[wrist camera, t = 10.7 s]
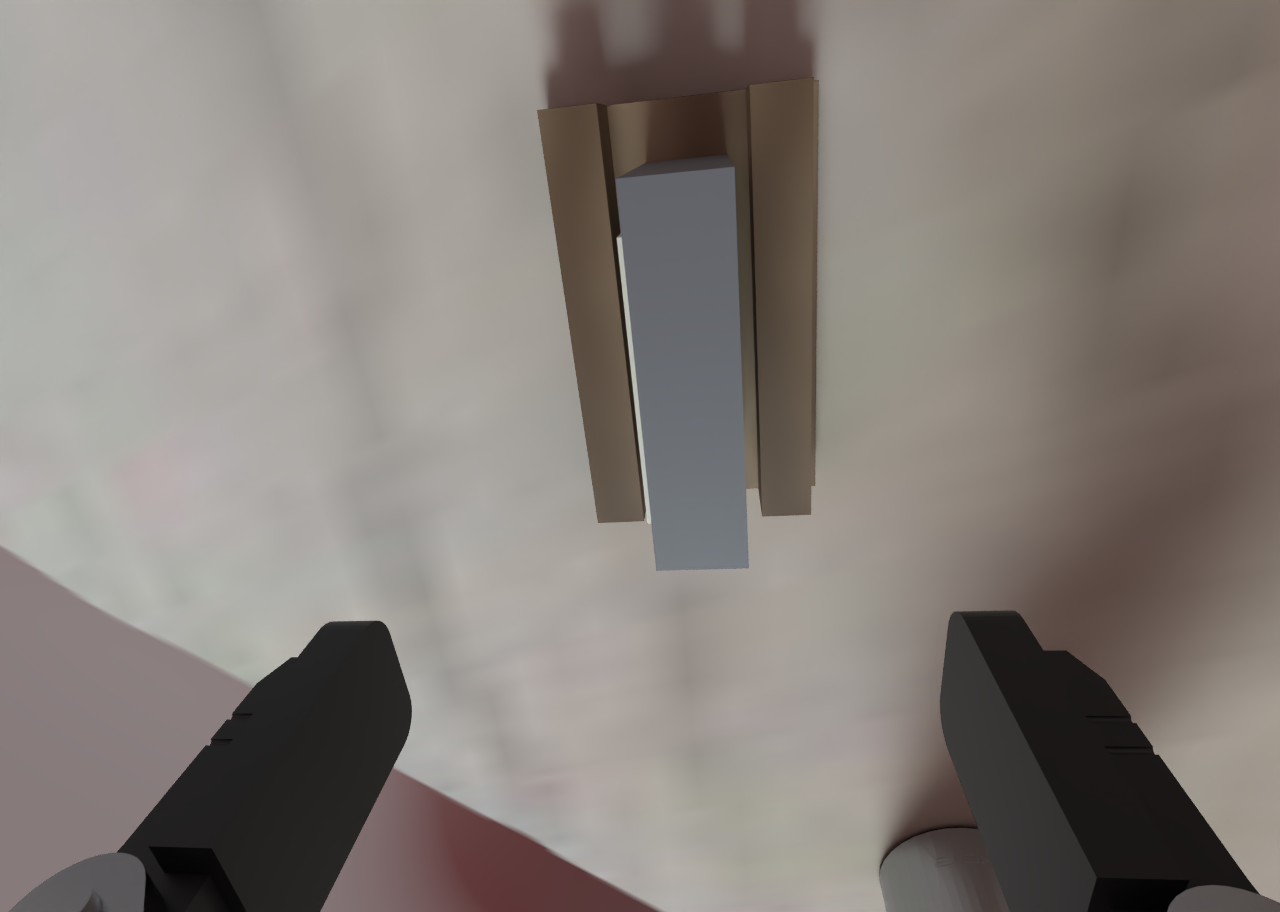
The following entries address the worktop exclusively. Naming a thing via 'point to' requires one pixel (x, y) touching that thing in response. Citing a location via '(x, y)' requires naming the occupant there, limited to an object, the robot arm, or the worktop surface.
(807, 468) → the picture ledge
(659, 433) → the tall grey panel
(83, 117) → the worktop surface
